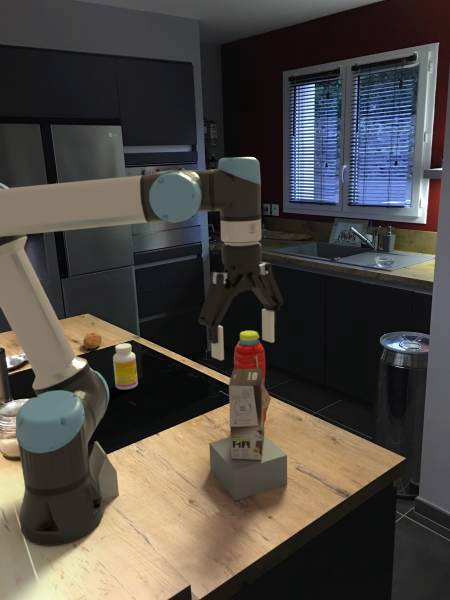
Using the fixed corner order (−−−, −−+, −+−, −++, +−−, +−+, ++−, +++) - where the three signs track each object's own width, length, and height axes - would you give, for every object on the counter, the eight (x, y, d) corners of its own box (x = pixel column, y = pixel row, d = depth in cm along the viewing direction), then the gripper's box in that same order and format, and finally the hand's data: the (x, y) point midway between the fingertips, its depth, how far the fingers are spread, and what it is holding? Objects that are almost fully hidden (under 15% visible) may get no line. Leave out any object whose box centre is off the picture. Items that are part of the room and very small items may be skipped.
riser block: (235, 502, 103) (233, 471, 102) (210, 471, 114) (209, 442, 112) (287, 485, 108) (287, 455, 107) (259, 457, 119) (258, 429, 117)
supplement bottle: (140, 388, 157) (136, 347, 154) (118, 392, 155) (114, 351, 152) (135, 379, 163) (131, 340, 160) (113, 383, 161) (110, 344, 158)
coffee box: (262, 460, 105) (260, 385, 101) (230, 459, 106) (227, 385, 102) (265, 437, 113) (263, 367, 109) (235, 436, 114) (232, 367, 110)
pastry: (102, 349, 191) (101, 339, 190) (83, 350, 189) (82, 340, 188) (101, 341, 200) (101, 331, 199) (83, 342, 198) (82, 333, 197)
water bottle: (278, 437, 127) (277, 338, 120) (247, 443, 124) (245, 343, 118) (259, 415, 138) (257, 324, 131) (230, 421, 135) (227, 328, 129)
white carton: (101, 503, 104) (96, 458, 102) (91, 486, 110) (86, 443, 108) (119, 496, 106) (114, 452, 104) (108, 480, 112) (103, 438, 109)
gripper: (201, 253, 88) (207, 371, 93) (300, 236, 103) (300, 338, 109) (175, 249, 93) (181, 360, 99) (273, 233, 109) (274, 330, 114)
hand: (244, 349), depth 104 cm, fingers open, 13 cm apart
